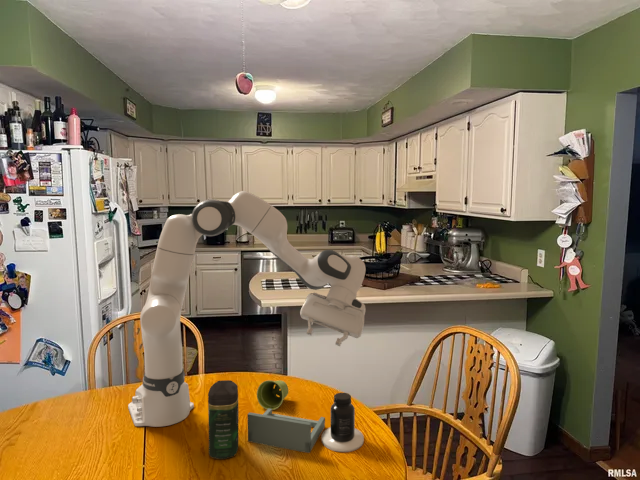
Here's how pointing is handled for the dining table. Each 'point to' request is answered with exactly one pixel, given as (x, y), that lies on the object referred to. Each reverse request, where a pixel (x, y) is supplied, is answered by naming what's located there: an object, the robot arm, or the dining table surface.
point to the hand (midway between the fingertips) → (323, 339)
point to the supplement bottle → (342, 418)
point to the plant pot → (271, 394)
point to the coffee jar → (223, 419)
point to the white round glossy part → (342, 446)
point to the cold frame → (284, 431)
